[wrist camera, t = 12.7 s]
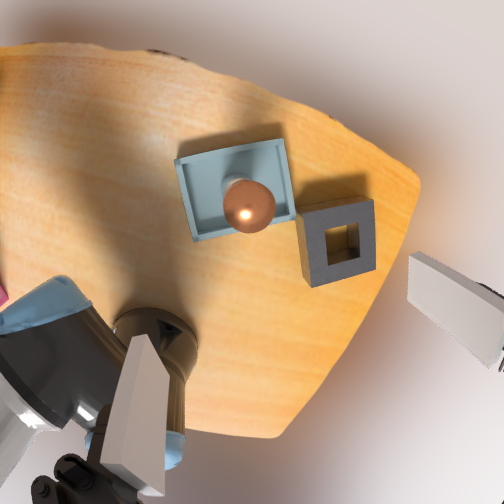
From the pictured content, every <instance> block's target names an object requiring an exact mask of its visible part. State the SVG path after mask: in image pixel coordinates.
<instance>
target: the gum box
mask: <svg viewBox="0 0 504 504" xmlns="http://www.w3.org/2000/svg"><path fill="white" fill-rule="evenodd" d="M7 300H9V298H8V297H7V295H6V293H5V292H4V290H3V288H2V287H1V285H0V307H1V306H2V305H3V304H4V303H5V302H6V301H7Z"/></svg>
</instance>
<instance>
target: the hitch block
mask: <svg viewBox="0 0 504 504" xmlns="http://www.w3.org/2000/svg"><path fill="white" fill-rule="evenodd" d="M295 212H296V220H295V221H296V228H297V235H298V243H299V250H300V258H301V266H302V274H303V278H304V279H305V280H306V282H307V283H308V284H309V286H310V287H311V288H313V287H317V286H321V285H324V284H328V283H331V282H335V281H338V280H342V279H345V278H349V277H352V276H356V275H359V274H362V273H366V272H369V271H372V270H376V241H375V216H374V200H373V199H369V198H366V197H363V196H354V197H349V198H343V199H338V200H332V201H327V202H322V203H317V204H312V205H307V206H301V207H297V208H295ZM344 225H347V236H348V249H345V250H341V251H337V252H333V253H329V254H327V250H326V239H325V230H326V229H330V228H335V227H339V226H344Z"/></svg>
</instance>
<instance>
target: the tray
mask: <svg viewBox="0 0 504 504" xmlns="http://www.w3.org/2000/svg"><path fill="white" fill-rule="evenodd" d="M174 163H175V167H176V172H177V176H178V181H179V185H180V189H181V194H182V198H183V202H184V206H185V210H186V214H187V218H188V222H189V226H190V230H191V234H192V238H193V242H197V241H202V240H206V239H210V238H214V237H219V236H223V235H227V234H232V233H236V232H240V231H237V230H236V229H234V228H233V227H232V226H231V225H230V224H229V223H228V222H227V220H226V218H225V215H224V211H223V196H222V193H221V184H222V181H223V180H224V178H225V177H226V176H228V175H230V174H232V173H240V174H243V175H244V176H246V177H247V178H249V179H250V180H254V181H257V182H259V183H261V184H263V185H264V186H266V187H267V188H268V189H269V190H270V191H271V192H272V194H273V196H274V198H275V201H276V212H275V216H274V218H273V220H272V221H271V223H270V224H269V225H272V224H277V223H282V222H286V221H291V220H296V212H295V205H294V199H293V192H292V186H291V180H290V174H289V168H288V162H287V156H286V151H285V145H284V140H283V138H280V139H273V140H267V141H261V142H255V143H249V144H243V145H238V146H233V147H228V148H223V149H218V150H213V151H209V152H204V153H200V154H196V155H191V156H187V157H183V158H179V159H175V160H174Z"/></svg>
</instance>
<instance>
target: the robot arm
mask: <svg viewBox="0 0 504 504" xmlns="http://www.w3.org/2000/svg"><path fill="white" fill-rule="evenodd" d="M407 301H409V302H410V303H411V304H412V305H414V306H415V307H416V308H417V309H419V310H420V311H421V312H422V313H424V314H425V315H426V316H427V317H429V318H430V319H431V320H432V321H433V322H435V323H436V324H437V325H438V326H440V327H441V328H442V329H444V331H446V332H447V333H448V334H449V335H450V336H452V337H453V338H454V339H455V340H456V341H457V342H459V343H460V344H461V345H462V346H463V347H464V348H466V349H467V350H468V351H469V352H470V353H471V354H472V355H473V356H475V357H476V358H477V359H478V360H479V361H480V362H481V363H482V364H483V365H485V366H486V367H487V368H488V369H489V368H490V367H491V366H492V365H493V364H494V363H495V362H497V360H498V359H499V356H500V354H501V352H502V350H504V296H502V295H500V294H498V293H497V292H495V291H493V290H492V289H491V288H489V287H487V286H486V285H484V284H481V283H477V282H474V281H473V280H471V279H469V278H467V277H466V276H464V275H462V274H461V273H459V272H457V271H455V270H453V269H452V268H450V267H448V266H446V265H444V264H443V263H441V262H439V261H437V260H435V259H433V258H431V257H430V256H427V255H426V254H424V253H421V252H420V251H418V252H416V253H413V254H411V255H409V277H408V296H407ZM92 305H93V304H92V302H91V300H88V299H87V298H86V297H85V295H84V294H83V293H82V292H81V290H80V289H79V288H78V286H77V285H76V284H75V283H74V281H73V280H72V279H71V278H69V277H67V276H65V275H57V276H54V277H52V278H50V279H49V280H47V281H46V282H44V283H42V284H41V285H39V286H38V287H36V288H35V289H33V290H32V291H30V292H29V293H27V294H26V295H24V296H23V297H21V298H20V299H18V300H17V301H15V302H14V303H13V304H11V305H10V306H8V307H7V308H6V309H4V310H3V311H2V312H0V487H1V486H2V485H3V483H4V482H5V480H6V479H7V477H8V476H9V474H10V473H11V472H12V470H13V469H14V468H15V466H16V465H17V463H18V462H19V461H20V459H21V458H22V456H23V455H24V454H25V452H26V451H27V450H28V448H29V447H30V446H31V444H32V443H33V442H34V440H35V439H36V438H37V437H38V435H39V434H40V433H41V431H45V430H49V431H61V430H62V429H63V428H64V426H65V425H66V424H67V422H68V421H69V420H70V419H72V420H74V421H75V422H76V423H77V424H79V425H80V426H81V427H82V428H84V429H85V430H86V431H87V435H86V436H85V442H86V443H85V445H86V447H87V450H88V456H87V460H86V461H85V460H83V459H82V458H81V457H80V456H78V455H76V454H66V455H64V456H62V457H61V458H60V459H59V460H58V461H57V463H56V464H55V467H54V475H55V478H56V479H57V480H59V482H55V481H54V480H53V479H51V478H50V477H48V476H45V475H43V476H39V477H37V478H36V479H35V480H34V481H33V483H32V486H31V495H32V501H33V504H143V503H142V501H141V500H139V499H138V498H137V491H139V492H141V493H142V494H144V495H145V496H165V470H168V469H171V468H173V467H175V466H176V465H178V464H179V463H180V461H181V459H182V457H183V450H184V442H185V441H186V437H185V384H186V382H187V380H188V378H189V376H190V374H191V372H192V371H193V369H194V367H195V365H196V362H197V349H198V348H197V341H196V338H195V336H194V334H193V332H192V330H191V329H190V328H189V327H188V325H187V324H186V323H185V322H183V321H182V320H181V319H180V318H178V317H177V316H175V315H173V314H171V313H169V312H166V311H163V310H160V309H155V308H139V309H134V310H131V311H129V312H127V313H125V314H123V315H122V316H121V317H120V318H119V319H118V320H117V322H116V323H115V325H114V327H113V329H112V330H111V329H110V328H109V326H108V325H107V324H106V323H105V321H104V320H103V319H102V318H101V316H100V315H99V314H98V312H97V311H96V310H95V308H94V307H93V306H92ZM503 365H504V358H503V360H502V362H501V365H500V367H499V372H501V370H502V368H503ZM503 372H504V370H503ZM502 504H504V501H503V502H502Z"/></svg>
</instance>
